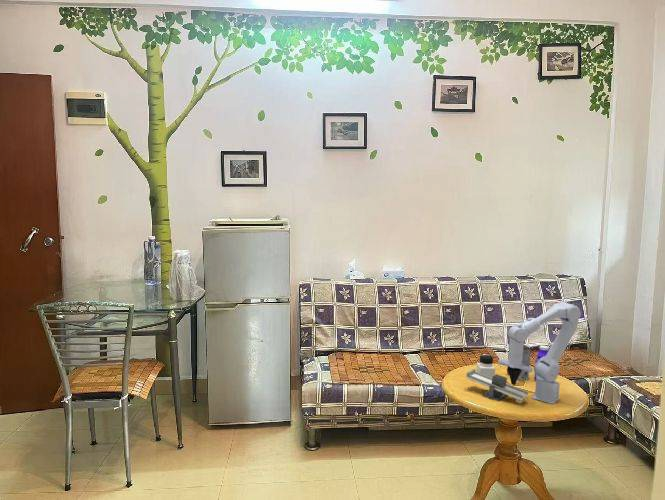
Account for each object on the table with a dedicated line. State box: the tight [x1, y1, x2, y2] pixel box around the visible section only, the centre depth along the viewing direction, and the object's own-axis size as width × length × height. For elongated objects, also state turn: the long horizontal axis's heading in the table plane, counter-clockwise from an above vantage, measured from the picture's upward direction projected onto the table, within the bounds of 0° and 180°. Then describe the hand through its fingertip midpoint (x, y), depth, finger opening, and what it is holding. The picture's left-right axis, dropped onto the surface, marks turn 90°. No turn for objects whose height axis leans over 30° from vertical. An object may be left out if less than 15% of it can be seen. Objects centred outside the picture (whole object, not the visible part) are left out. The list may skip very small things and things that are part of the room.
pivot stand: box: [481, 386, 507, 402], centre depth 237 cm, size 8×10×6 cm
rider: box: [491, 373, 508, 388], centre depth 236 cm, size 5×4×4 cm
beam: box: [465, 368, 529, 404], centre depth 237 cm, size 26×7×5 cm, turn 49°
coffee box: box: [506, 342, 532, 381], centre depth 260 cm, size 9×6×16 cm
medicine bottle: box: [475, 353, 496, 378], centre depth 256 cm, size 7×7×12 cm
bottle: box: [533, 345, 550, 381], centre depth 254 cm, size 7×6×17 cm
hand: (513, 384), depth 231 cm, fingers closed
